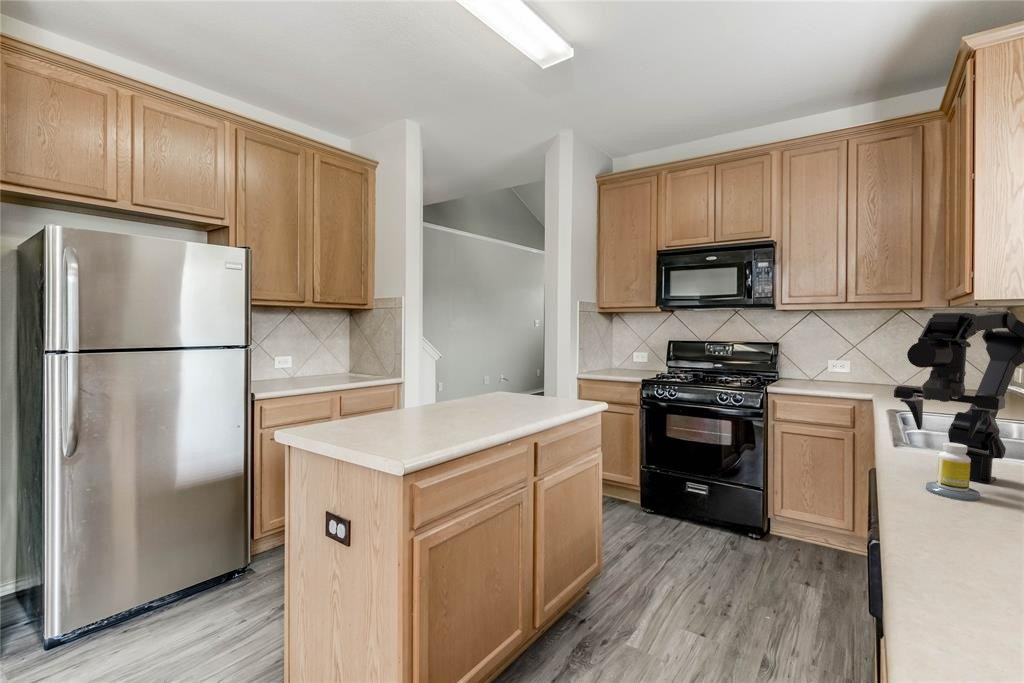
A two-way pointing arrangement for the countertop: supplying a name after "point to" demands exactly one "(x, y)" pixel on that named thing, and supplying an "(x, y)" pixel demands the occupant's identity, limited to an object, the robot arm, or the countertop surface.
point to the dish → (953, 492)
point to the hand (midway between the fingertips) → (943, 433)
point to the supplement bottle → (954, 467)
